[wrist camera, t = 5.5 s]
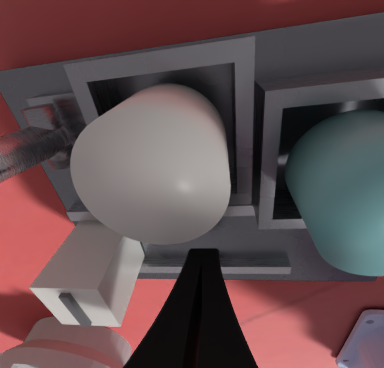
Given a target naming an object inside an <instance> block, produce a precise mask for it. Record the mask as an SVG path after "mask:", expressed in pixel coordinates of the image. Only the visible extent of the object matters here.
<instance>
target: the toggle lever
mask: <svg viewBox="0 0 384 368" xmlns="http://www.w3.org/2000/svg"><path fill="white" fill-rule="evenodd" d="M21 112H22V114H23V116H24V118H25V119H26V121H27V123H28V125H29V127H27V128H24V129H21V130H18V131H15V132H12V133H9V134H7V135H4V136H1V137H0V183H1V182H3V181H5V180H7V179H9V178H11V177H13V176H15V175H17V174H19V173H21V172H23V171H25V170H28V169H30V168H32V167H34V166H36V165H38V164H40V163H42V162H44V161H46V160H48V162H49V164H50V166H51V168H52V169H53V170H63V169H66V168H69V167H70V159H71V153H72V149H73V146H72V143H71V134H70V132H69V130H68V129H67V128H66V127H65V126H64V125H63V123H62V121H61V119H60V117H59V115H58V112H57V110H56V108H55V106H54V104H53V103H47V104H41V105H36V106H32V107H28V108H25V109H23V110H21Z"/></svg>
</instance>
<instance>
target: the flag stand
mask: <svg viewBox="0 0 384 368" xmlns="http://www.w3.org/2000/svg"><path fill="white" fill-rule="evenodd" d="M130 355H131V346H130V344H129V343H128V342H127V340H126V339H125V338H123V337H122V336H121V335H119V334H118V333H116V332H115V331H113V330H111V329H109V328H107V327H105V326H92V325H91V326H90V327H82V326H81V325H71V324H61V323H60V321H59V320H58V319H57V318H56V317H47V318H43V319H40V320H39V321H37V322H36V323H35V325H34V326H33V328H32V329H31V331H30V333H29V334H28V336H27V337H26V339H25V340H24V342H23V343H22V344H20V345H18V346H15V347H13V348H11V349H9V350H6V351H5V352H4V353H2V355H1V356H0V368H123V366H124V365H125V364H126V362H127V361H128V360H129V358H130Z"/></svg>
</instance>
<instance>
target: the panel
mask: <svg viewBox="0 0 384 368" xmlns="http://www.w3.org/2000/svg"><path fill="white" fill-rule="evenodd" d="M160 83H175V84H180V85H184V86H187V87H190V88H192V89H194V90H196V91H198V92H199V93H201V94H202V95H203V96H205V97H206V98H207V99H208V100H209V101H210V102H211V103H212V104H213V105H214V106H215V108H216V109H217V111H218V112H219V114H220V116H221V118H222V120H223V123H224V127H225V131H226V140H227V151H228V162H229V173H230V184H231V190H230V199H229V203H228V206H227V209H226V211H225V213H224V215H223V216H222V218H221V219H220V220H219V222H218V223H217V224H216V225H215V226H214V227H213V228H212V229H211V230H209V231H208V232H207V233H205V234H204V235H202V236H200V237H198V238H196V239H193V240H191V241H187V242H183V243H178V244H169V245H158V244H149V243H144V242H140V244H141V247H142V249H143V252H144V255H145V256H144V259H143V262H142V265H141V268H140V271H139V274H138V277H137V279H177V278H178V276H179V274H180V272H181V270H182V267H183V265H184V263H185V260H186V257H187V255H188V251H189V250H190V249H191V248H217V249H218V250H219V257H220V266H221V270H222V275H223V278H224V280H296V281H375V280H376V278H377V276H364V275H357V274H352V273H348V272H345V271H342V270H340V269H338V268H335V267H334V266H332V265H330V264H329V263H328V262H326V261H325V260H324V259H323V258H322V256H321V255H320V254H319V252H318V250H317V248H316V246H315V244H314V242H313V240H312V238H311V236H310V234H309V231H308V229H307V227H306V225H305V223H304V221H303V219H302V217H301V215H300V213H299V210H298V208H297V206H296V204H295V202H294V200H293V198H292V196H291V194H290V192H289V189H288V187H287V185H286V182H285V176H284V172H285V164H286V161H287V158H288V156H289V154H290V152H291V150H292V148H293V147H294V145H295V144H296V142H297V141H298V140H299V139H300V138H301V137H302V136H303V135H304V134H305V133H306V132H307V131H308V130H310V129H311V128H312V127H313V126H315V125H316V124H318V123H320V122H321V121H323V120H325V119H327V118H329V117H331V116H334V115H336V114H339V113H342V112H346V111H351V110H357V109H372V110H378V111H383V112H384V12H382V13H376V14H369V15H362V16H356V17H349V18H343V19H336V20H330V21H323V22H317V23H310V24H304V25H297V26H290V27H284V28H277V29H271V30H264V31H258V32H251V33H245V34H238V35H232V36H225V37H219V38H212V39H205V40H199V41H192V42H186V43H179V44H173V45H166V46H160V47H153V48H147V49H140V50H134V51H127V52H120V53H114V54H107V55H101V56H94V57H88V58H81V59H75V60H68V61H62V62H55V63H49V64H42V65H35V66H29V67H22V68H16V69H9V70H3V71H0V92H1V94H2V96H3V98H4V100H5V101H6V103H7V105H8V107H9V108H10V110H11V112H12V114H13V116H14V117H15V119H16V121H17V123H18V125H19V126H20V128H21V129H24V128H27V127H29V125H28V123H27V121H26V119H25V118H24V116H23V114H22V112H21V110H23V109H25V108H28V107H32V106H36V105H41V104H47V103H53V104H54V106H55V108H56V110H57V112H58V115H59V117H60V119H61V121H62V123H63V125H64V126H65V127H66V128H67V129H68V130H69V132H70V134H71V143H72V146H73V147H74V144H75V141H76V140H77V138H78V136H79V135H80V133H81V132H82V131H83V130H84V129H85V128H86V126H88V125H89V124H90V123H91V122H93V121H94V120H95V119H97V118H98V117H100V116H101V115H103V114H105V113H106V112H108V111H109V110H111V109H112V108H114V107H115V106H117V105H118V104H120V103H121V102H123V101H125V100H126V99H128V98H129V97H131V96H132V95H134V94H135V93H137V92H138V91H140V90H142V89H144V88H146V87H148V86H151V85H155V84H160ZM40 164H41V165H42V167H43V169H44V171H45V173H46V174H47V176H48V178H49V180H50V181H51V183H52V185H53V187H54V189H55V190H56V192H57V194H58V196H59V198H60V199H61V201H62V203H63V205H64V206H65V208H66V210H67V212H66V214H67V215H68V217H69V219H70V221H73V222H74V224H75V226H76V225H77V224H78V223H79V221H91V220H98V219H97V218H96V217H94V216H93V215H92V214H91V212H90V211H89V210H88V209H87V208H86V206H85V205H84V204H83V202H82V201H81V199H80V197H79V196H78V194H77V192H76V189H75V187H74V184H73V181H72V177H71V170H70V167H69V168H66V169H63V170H53V169H52V168H51V166H50V164H49V162H48V160H46V161H44V162H42V163H40Z"/></svg>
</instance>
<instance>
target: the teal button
mask: <svg viewBox="0 0 384 368" xmlns="http://www.w3.org/2000/svg"><path fill="white" fill-rule="evenodd" d="M284 176H285V182H286V185H287V187H288V189H289V192H290V194H291V196H292V198H293V200H294V202H295V204H296V206H297V208H298V210H299V213H300V215H301V217H302V219H303V221H304V223H305V225H306V227H307V229H308V231H309V234H310V236H311V238H312V240H313V242H314V244H315V246H316V248H317V250H318V252H319V254H320V255H321V256H322V258H323V259H324V260H325V261H326V262H328V263H329V264H330V265H332V266H334V267H335V268H338V269H340V270H342V271H345V272H348V273H352V274H357V275H364V276H384V112H383V111H378V110H372V109H357V110H351V111H346V112H342V113H339V114H336V115H334V116H331V117H329V118H327V119H325V120H323V121H321V122H320V123H318V124H316V125H315V126H313V127H312V128H311V129H310V130H308V131H307V132H306V133H305V134H304V135H303V136H302V137H301V138H300V139H299V140H298V141H297V142H296V144H295V145H294V147H293V148H292V150H291V152H290V154H289V156H288V158H287V161H286V164H285V172H284Z"/></svg>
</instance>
